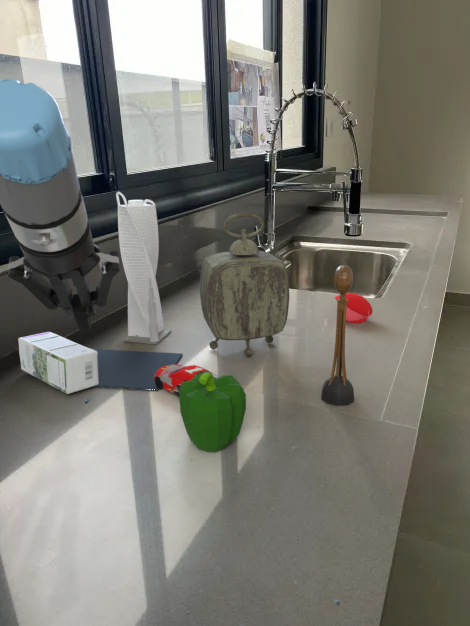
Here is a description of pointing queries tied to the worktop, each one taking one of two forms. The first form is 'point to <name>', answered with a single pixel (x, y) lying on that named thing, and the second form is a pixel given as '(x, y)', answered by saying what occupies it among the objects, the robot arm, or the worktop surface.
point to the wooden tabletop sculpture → (340, 346)
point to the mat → (131, 368)
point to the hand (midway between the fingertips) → (85, 323)
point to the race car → (176, 376)
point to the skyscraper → (141, 269)
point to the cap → (357, 308)
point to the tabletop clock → (244, 291)
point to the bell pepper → (212, 410)
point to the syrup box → (59, 361)
